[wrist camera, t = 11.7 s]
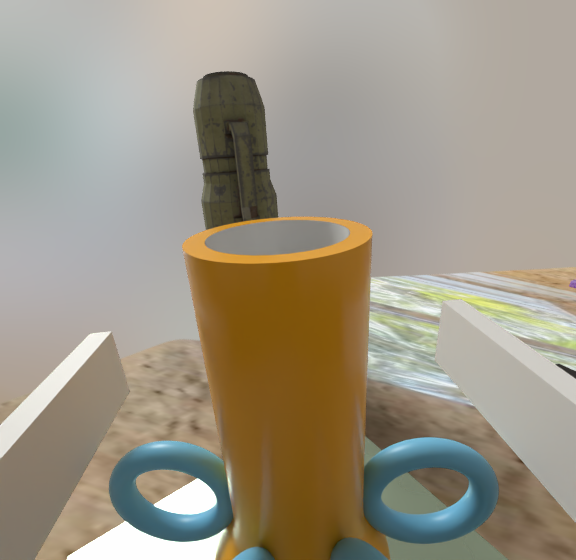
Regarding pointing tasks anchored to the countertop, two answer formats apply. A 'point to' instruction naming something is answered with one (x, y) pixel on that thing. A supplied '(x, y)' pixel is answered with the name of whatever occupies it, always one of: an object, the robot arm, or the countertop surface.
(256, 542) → the cylinder
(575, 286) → the sponges
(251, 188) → the thermos
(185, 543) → the grey green pedestal stand
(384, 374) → the countertop surface
